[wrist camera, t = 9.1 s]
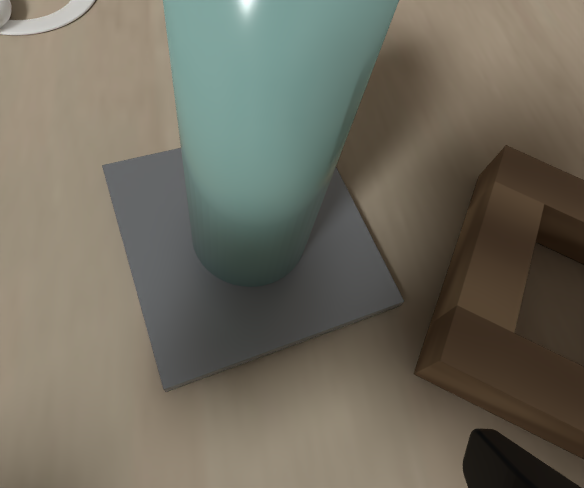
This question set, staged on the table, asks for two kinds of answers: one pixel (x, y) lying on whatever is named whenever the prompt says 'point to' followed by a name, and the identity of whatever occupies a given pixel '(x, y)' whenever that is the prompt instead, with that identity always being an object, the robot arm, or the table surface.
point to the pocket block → (509, 301)
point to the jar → (265, 119)
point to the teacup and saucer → (41, 18)
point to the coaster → (232, 298)
